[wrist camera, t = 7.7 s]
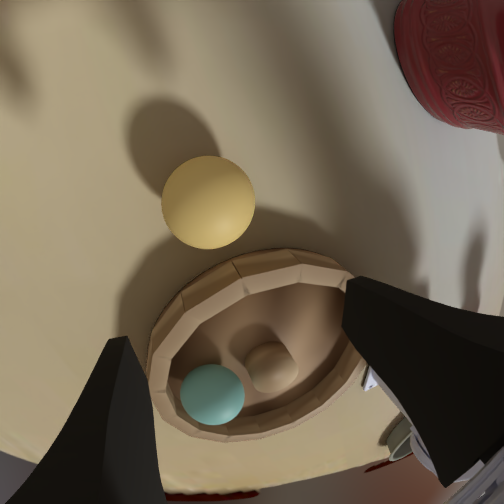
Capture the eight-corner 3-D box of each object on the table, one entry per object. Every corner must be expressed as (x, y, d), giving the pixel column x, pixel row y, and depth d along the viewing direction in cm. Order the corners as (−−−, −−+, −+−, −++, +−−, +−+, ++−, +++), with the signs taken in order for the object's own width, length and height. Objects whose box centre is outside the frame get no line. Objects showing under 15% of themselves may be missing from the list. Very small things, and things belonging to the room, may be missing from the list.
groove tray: (370, 227, 21) (394, 240, 19) (345, 383, 29) (358, 400, 27) (114, 280, 17) (109, 305, 14) (180, 434, 25) (185, 457, 22)
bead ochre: (236, 147, 16) (265, 154, 12) (243, 223, 18) (271, 253, 14) (154, 159, 15) (154, 171, 11) (167, 237, 17) (173, 274, 13)
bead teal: (232, 345, 21) (251, 391, 17) (236, 384, 23) (254, 427, 19) (170, 357, 20) (178, 407, 16) (182, 395, 21) (192, 441, 17)
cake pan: (471, 372, 52) (482, 382, 48) (408, 441, 57) (416, 452, 53) (445, 365, 41) (460, 380, 37) (359, 454, 45) (369, 469, 42)
